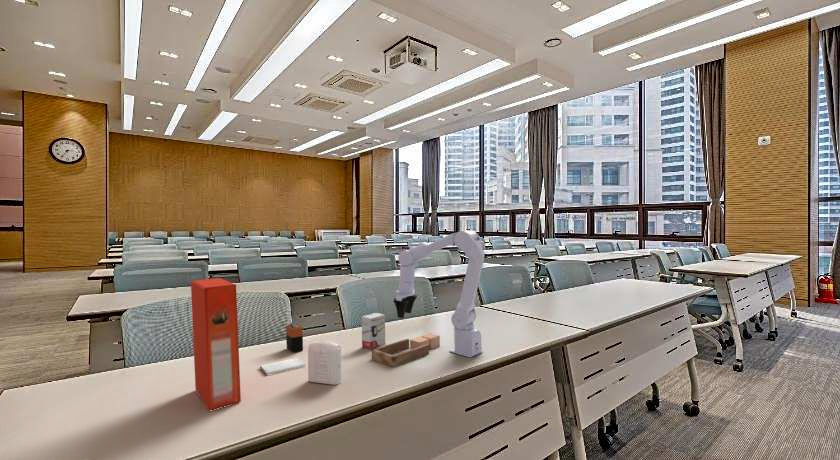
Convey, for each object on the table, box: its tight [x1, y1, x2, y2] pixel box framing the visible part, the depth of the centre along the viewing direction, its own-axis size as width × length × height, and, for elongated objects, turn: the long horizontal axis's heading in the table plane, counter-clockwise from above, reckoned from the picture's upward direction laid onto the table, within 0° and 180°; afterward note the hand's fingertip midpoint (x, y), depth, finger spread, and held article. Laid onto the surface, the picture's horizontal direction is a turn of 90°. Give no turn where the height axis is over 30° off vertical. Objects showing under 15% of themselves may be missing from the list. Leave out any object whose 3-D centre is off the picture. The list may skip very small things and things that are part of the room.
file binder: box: [190, 277, 242, 412], centre depth 110 cm, size 8×17×32 cm, turn 39°
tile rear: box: [420, 333, 441, 350], centre depth 152 cm, size 5×5×4 cm
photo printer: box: [307, 340, 342, 386], centre depth 120 cm, size 10×4×12 cm, turn 72°
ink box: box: [361, 312, 386, 350], centre depth 154 cm, size 9×5×12 cm, turn 143°
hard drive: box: [259, 357, 306, 376], centre depth 132 cm, size 2×8×12 cm
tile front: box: [409, 336, 429, 350], centre depth 148 cm, size 5×5×4 cm
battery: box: [285, 321, 304, 353], centre depth 150 cm, size 4×7×10 cm, turn 35°
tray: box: [371, 338, 430, 368], centre depth 141 cm, size 11×17×3 cm, turn 136°
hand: (404, 315), depth 155 cm, fingers open, 7 cm apart
